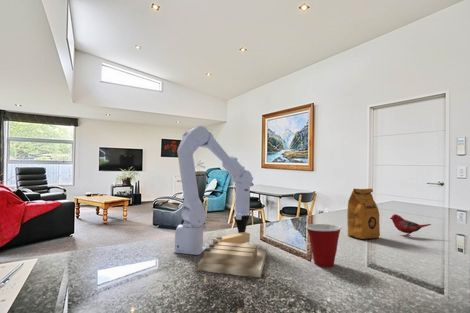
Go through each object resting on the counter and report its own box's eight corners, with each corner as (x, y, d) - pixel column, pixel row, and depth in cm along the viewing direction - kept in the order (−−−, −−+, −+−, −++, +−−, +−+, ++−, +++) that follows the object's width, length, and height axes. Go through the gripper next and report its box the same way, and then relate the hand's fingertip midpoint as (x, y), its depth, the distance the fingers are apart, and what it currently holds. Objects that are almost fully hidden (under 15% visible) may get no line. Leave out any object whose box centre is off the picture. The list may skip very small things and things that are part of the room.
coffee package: (384, 239, 108) (383, 189, 109) (361, 241, 105) (360, 189, 106) (365, 233, 118) (365, 187, 119) (344, 235, 114) (344, 187, 115)
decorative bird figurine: (388, 234, 117) (388, 213, 117) (429, 237, 114) (429, 215, 115) (391, 236, 114) (391, 214, 114) (433, 238, 111) (433, 216, 112)
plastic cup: (315, 255, 86) (315, 220, 86) (347, 264, 78) (347, 225, 79) (298, 263, 78) (298, 224, 79) (332, 274, 70) (332, 231, 71)
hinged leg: (218, 249, 83) (218, 239, 83) (212, 247, 85) (213, 237, 85) (249, 241, 93) (249, 232, 93) (244, 239, 95) (244, 230, 95)
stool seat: (197, 270, 71) (198, 251, 71) (216, 249, 89) (217, 234, 90) (260, 277, 67) (260, 257, 67) (266, 254, 85) (267, 238, 86)
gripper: (249, 202, 91) (248, 240, 90) (254, 198, 105) (254, 231, 104) (230, 201, 93) (229, 238, 92) (238, 197, 107) (237, 229, 106)
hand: (241, 234), depth 98 cm, fingers closed
